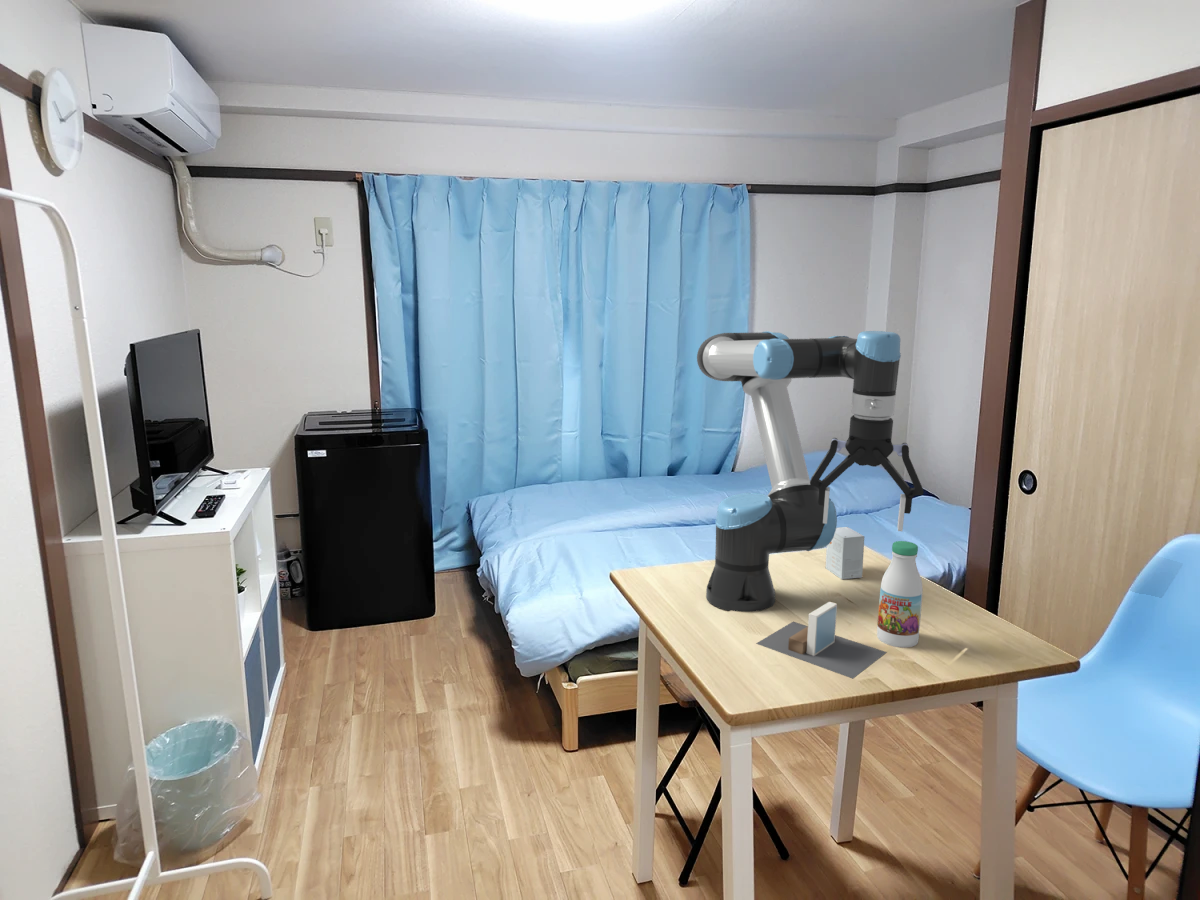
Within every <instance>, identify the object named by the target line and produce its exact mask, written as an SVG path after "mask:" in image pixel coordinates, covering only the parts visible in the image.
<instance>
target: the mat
mask: <svg viewBox="0 0 1200 900" xmlns="http://www.w3.org/2000/svg"><path fill="white" fill-rule="evenodd" d="M807 626H808V625H804V624H802V623H800V622H796V621H791V622H790V623H787V625H784V626H783V627H782V628H779V629H778V630H776V631H774V632H773V633H771V634H769V635H768V636H767V637H765V638H762V639H761V640H759V641H758V642H756V643H755V644H756V645H759V646H761V647H764V648H767V649H770V650H771V651H775V652H778V653H781V654H784V655H787V656H790V657H792V658H794V659H797V660H800V661H803V662H806V663H807V664H808V663H809V664H811V665H814V666H817V667H820V668H823V669H825V670H828V671H830V672H832V673H835V674H839V675H841V676H844V677H847V678H850V679H855V678H856V677H857V676H858V675H860V674H861V673H862V672H863V671H864V670H866V669H867V668H869V667H870V666H871V665H872V664H874V663H875V662H877V661H878V660H879V659H881V657H883V656H884V655H886V654H887V653H888V652H887V651H884V650H882V649H879V648H875V647H872V646H869V645H867V644H864V643H860V642H858V641H854V640H851V639H848V638H845V637H842V636H839V635H837V634H835V642H834V643H833V644H831V645H830V646H828V647H827V648H825V649H824V650H822V651H821V652H819V653H818V654H816V655H815V656H813V655H810V654H807V652H806V653H804V654H803V655H802V654H799V653H796V652H794V651H791V650H788V646H789V638H790V637H791V636H793V635H795V634H796V633H798V632H799V631H801V630H803V629H804V628H806V627H807Z"/></svg>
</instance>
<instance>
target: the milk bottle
mask: <svg viewBox="0 0 1200 900" xmlns="http://www.w3.org/2000/svg"><path fill="white" fill-rule="evenodd" d="M891 550H892V551H891V555H892V557H891V558H892V559H891V561H890V563H889V565H888V567H887V568H886V570H885V572H884V574H883V575H882V579H881V583H880V590H879V600H878V601H879V602H878V611H877V613H878V615H877V627H876V636H877V639H878V640H879V641H880V642H881V643H883V644H885V645H888V646H891V647H894V648H913V647H915V646H916V645H918V643H919V637H920V628H921V616H922V605H923V581H922V577H921V574H920V572H919V569H918V566H917V560H916V558H917V557H918V552H919V546H918V544H916V543H914V542H911V541H906V540H905V541H904V540H897V541H894V542H892V545H891Z"/></svg>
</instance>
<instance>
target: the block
mask: <svg viewBox="0 0 1200 900" xmlns="http://www.w3.org/2000/svg"><path fill="white" fill-rule="evenodd" d="M806 626H807V627H806V628H804V629H803V630H801V631H799V632H798V633H796V634H795V635H793V636H791V637H790V638H789V646H788V650H791V651H794V652H796V653H799V654H802V655H803V654H804V653H806V652H807V636H808V625H806Z"/></svg>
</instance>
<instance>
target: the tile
mask: <svg viewBox="0 0 1200 900" xmlns="http://www.w3.org/2000/svg"><path fill="white" fill-rule="evenodd" d="M837 608H838V604H837V603H835V602H831V601H827V602H826V603H824V604H823V605H821V606H819V607H818V608H816V609H815V610H813V611H811V612H810V613H808V621H807V626H808V636H807V654H810V655H813V656H815V655H816V654H818V653H819V652H821V651H822V650H824V649H825V648H827V647H828V646H830V645H831V644H833V643H834V642H835V635H836V625H837V611H838V609H837Z"/></svg>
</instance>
